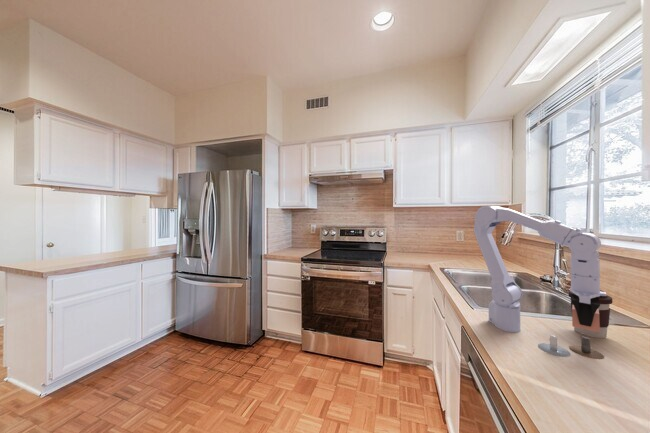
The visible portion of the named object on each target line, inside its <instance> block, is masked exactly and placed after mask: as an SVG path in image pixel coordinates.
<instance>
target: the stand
mask: <svg viewBox="0 0 650 433" xmlns="http://www.w3.org/2000/svg"><path fill="white" fill-rule="evenodd" d="M537 348H538V349H540V351H543V352H544V353H546V354H549V355H552V356H557V357H562V358H563V357H564V358H568V357H570V356H571V352H570V351H569V350H568V349H565V348H564V347H561V346H558V336H557V335H555V334H549V343H545V342H544V343H538V344H537Z"/></svg>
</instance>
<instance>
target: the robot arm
mask: <svg viewBox="0 0 650 433" xmlns="http://www.w3.org/2000/svg"><path fill="white" fill-rule="evenodd" d="M473 217H474V225H473V234H474V236H475V238H476V242H477V245H478V247H479V249H480V252H481V254H482V257H483V259H484V262H485V265H486V267H487V270H488V272H489V274H490V277H491V281H490V288H491V298H492V300H491V301H490V302H489V303H488V322H490V323H491V324H492V325H494V326H495V327H496V328H498V329H499V330H502V331H503V332H504V331H505V332H510V333H518V332H521V303H520V300H521V299H522V298H523V296H524V295H523V291H522V289H521V287H520V286H519V285H518V284H517V283H516V281H515V279H514V278H513V277H512V276H511V275H510V274H509V272H508V270H507V267H506V265H505V262H504V260H503V258H502V255H501V253H500V251H499V248H498V246H497V243H496V241H495V238H494V235H493V232H494V229H496V227H497V226H498V225H499V224H500V223H502V222H511V223H515V224H518V225H520V226H523V227H526V228H528V229H531V230H533V231H537V233H538V235H539V236H540V237H541V238H543V239H546V240H547V241H551V242H554V243H556V244H558V245H561V246H563V247H568V249H569V250H570V252H571V253H570V288H569V291H571V292H572V295H573V297H574V298H571V297H570V303H571V302H572V304H573V305H574V307H575V309H576V312H577V316H578V320H579V323H580V325H585V326H589V327H591V325H592V322H593V318H594V314H595V312H596V310H597V309H598V308H599V307H600V303H596V302H597V301H598V300H599V299H600V297H599V296H606V295H607V292H605V291H604V292H601V291H602V290H601V276H600V275H601V274H600V273H601V272H600V271H601V262H600V258H599V257H600V253H599V249H600V248H601V246H602V242H601V239H600V237H598V236H597V235H595V234H593V233H592V232H590V231H582V229H581V228H579V227H576V228H573V227H570V226H568V225H565V224H564V223H563V224H562V221H560V220H557V219H556V220H555V221H554V220H551V219H550V220H546V221H541V220H539V219H537V218H535V217H532V216H529V215H526V214H525V213H522V212H519V211H517V210H513V209H511V208H508V207H502V206H500V205H492V206H491V205H490V206H489V205H483V206H480V207H479V208H478V209H477V210H476V212H475V214H473ZM600 290H601V291H600Z"/></svg>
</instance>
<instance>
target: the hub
mask: <svg viewBox="0 0 650 433" xmlns="http://www.w3.org/2000/svg"><path fill="white" fill-rule="evenodd" d="M580 338H581V340H580V343H581V345H575V344H574V345H569V346H568V349H569V350H570V351H572V353H574V354H577V355H579V356H581V357H584V358H588V359H593V360H603V359H605V355H604V354H603V353H601V352H600V351H598V350H596V349H593V348H591V346H592V345H591V344H592V343H591V338H590V337H589V336H588V337H587V336H585V335H583V336H581V337H580Z"/></svg>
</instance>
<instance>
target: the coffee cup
mask: <svg viewBox="0 0 650 433" xmlns="http://www.w3.org/2000/svg"><path fill="white" fill-rule="evenodd" d="M600 291H601V292H605V291H604V290H601V289H600ZM567 294H568V297H569V298H570V299H571V298H574V297H573V295H572V292H571V291H570V290H569V291H568V293H567ZM599 297H600V299H599V300H598V301H597V302H596V303H600V307H599V308H598V309H599V322H600V332H596V331H591V330H587V329H582V328H578V327H573V329H574V332H576V333H579V334H581V335H583V336H586V337H587V336H588V337H593V338H598V339H607V338H608V336H607V335H608V327H609V326H610V317H611V316H610V314H611V309H610V305H611V304H613V297H611V296H610V295H607V294H606V296H599ZM572 306H573V304H572V302H571V301H570V309H571V312H572Z"/></svg>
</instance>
